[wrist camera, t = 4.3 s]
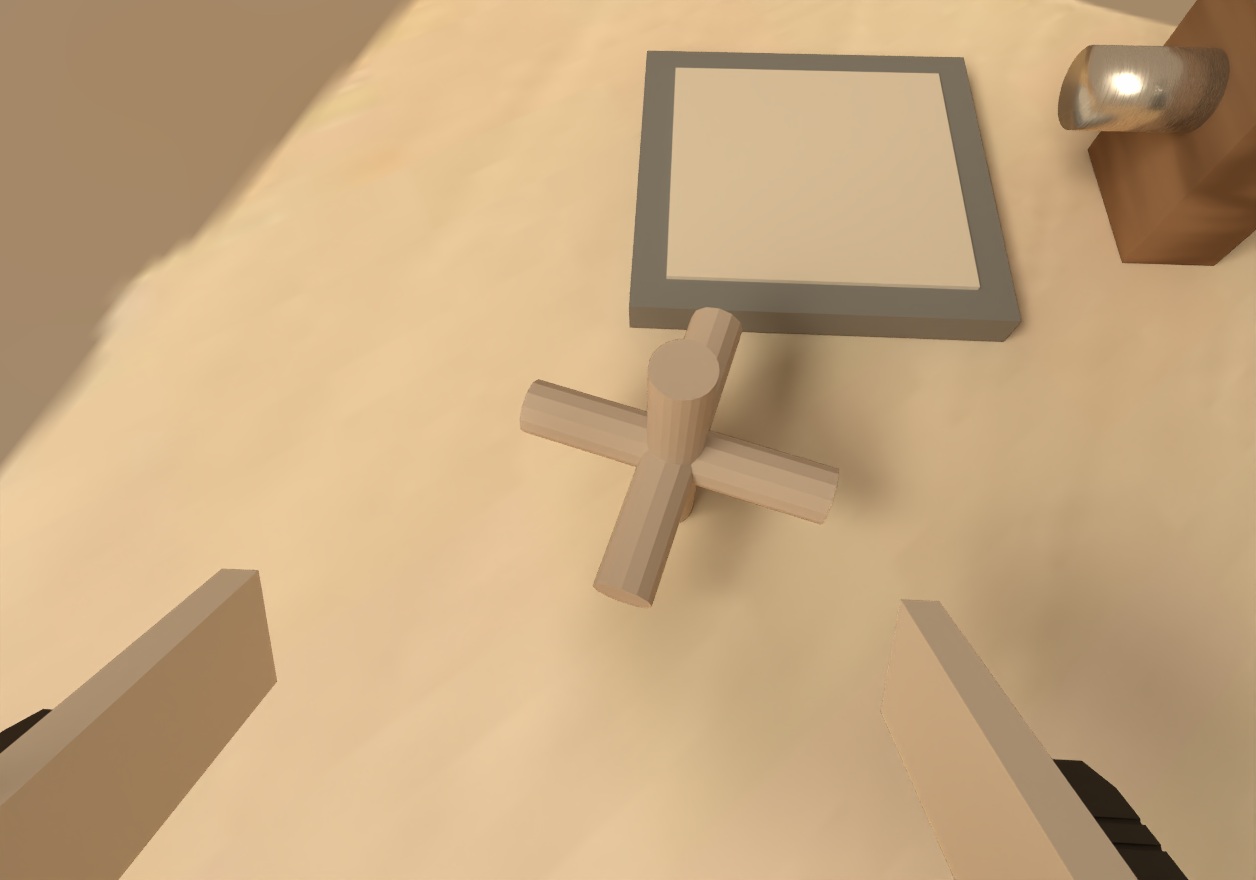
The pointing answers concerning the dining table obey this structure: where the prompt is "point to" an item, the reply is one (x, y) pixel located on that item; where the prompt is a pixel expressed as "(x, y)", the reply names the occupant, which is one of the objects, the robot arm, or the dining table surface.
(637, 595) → the pipe connector
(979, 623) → the dining table surface
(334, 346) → the dining table surface
